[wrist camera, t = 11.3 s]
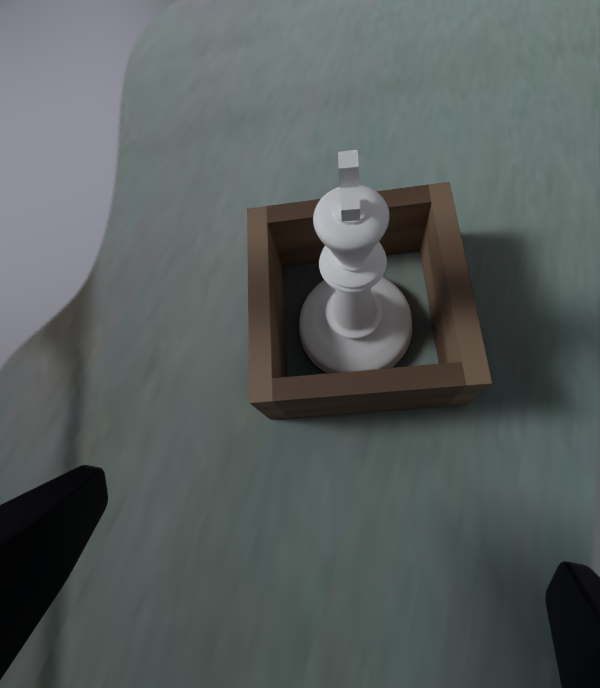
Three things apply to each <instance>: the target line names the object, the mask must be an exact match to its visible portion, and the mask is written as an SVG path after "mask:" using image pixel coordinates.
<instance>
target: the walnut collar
mask: <svg viewBox="0 0 600 688" xmlns="http://www.w3.org/2000/svg"><path fill="white" fill-rule="evenodd" d="M377 192H378V193H379V194H380V195H381V196H382V197H383V199H384V200H385V202H386V204H387V206H388V209H389V223H388V226H387V229H386V231H385V233H384V235H383V236H382V238H381V239H380V241H379V243H380V244H381V246H382V247H383V249H384V251H385V254H386V255H387V254H396V253H404V252H413V251H420V254H421V260H422V266H423V272H424V278H425V284H426V289H427V295H428V301H429V307H430V313H431V319H432V325H433V331H434V336H435V342H436V348H437V354H438V360H439V364H432V365H420V366H409V367H397V368H386V369H374V370H363V371H351V372H340V373H328V374H317V375H305V376H294V377H287V361H286V338H285V315H284V292H283V268H282V267H284V266H293V265H302V264H310V263H319V259H320V255H321V253H322V250H323V248H324V247H325V245H324V243H323V242H322V241H321V240H320V238H319V237H318V235H317V233H316V231H315V228H314V224H313V215H314V211H315V208H316V206H317V204H318V202H319V201H320V200H321V199H317V200H310V201H302V202H295V203H287V204H280V205H272V206H265V207H257V208H250V209H247V232H248V314H249V397H250V404H251V405H253V406H254V407H255V408H256V409H258V410H259V411H260V412H261V413H263V414H264V415H265V416H266V417H268V418H269V419H283V418H296V417H310V416H323V415H336V414H349V413H362V412H375V411H388V410H401V409H414V408H428V407H441V406H454V405H467V404H468V403H469V402H470V401H472V400H473V399H474V398H475V397H476V396H478V395H479V394H480V393H481V392H482V391H484V390H485V389H486V388H487V387H488V386H489V385H491V384H492V381H491V376H490V371H489V366H488V362H487V357H486V352H485V347H484V343H483V338H482V333H481V328H480V324H479V319H478V314H477V309H476V305H475V300H474V295H473V290H472V286H471V281H470V276H469V271H468V267H467V262H466V257H465V253H464V248H463V243H462V238H461V234H460V229H459V224H458V219H457V215H456V210H455V205H454V200H453V196H452V191H451V186H450V182H445V183H437V184H430V185H422V186H415V187H407V188H400V189H392V190H385V191H377Z"/></svg>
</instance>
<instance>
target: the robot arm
mask: <svg viewBox="0 0 600 688" xmlns="http://www.w3.org/2000/svg"><path fill="white" fill-rule="evenodd" d="M107 503H108V493H107V486H106V479H105V473H104V471H103V469H102V468H99V467H94V466H89V465H82V466H79V467H77V468H75V469H73V470H71V471H69V472H67V473H65V474H63V475H61V476H59V477H57V478H55V479H53V480H51V481H48V482H46V483H44V484H42V485H40V486H38V487H36V488H34V489H32V490H30V491H28V492H26V493H24V494H22V495H20V496H18V497H16V498H14V499H12V500H10V501H8V502H5V503H3V504H1V505H0V680H1V678H2V677H3V675H4V674H5V672H6V671H7V669H8V668H9V666H10V665H11V663H12V662H13V660H14V659H15V657H16V656H17V654H18V653H19V651H20V650H21V648H22V647H23V645H24V644H25V642H26V641H27V639H28V638H29V636H30V635H31V633H32V632H33V630H34V629H35V627H36V626H37V624H38V623H39V621H40V620H41V618H42V617H43V615H44V614H45V612H46V611H47V609H48V608H49V606H50V605H51V603H52V602H53V600H54V599H55V597H56V596H57V594H58V593H59V591H60V590H61V588H62V587H63V585H64V583H65V582H66V580H67V579H68V577H69V575H70V573H71V572H72V570H73V568H74V566H75V564H76V563H77V561H78V559H79V557H80V555H81V553H82V552H83V550H84V548H85V546H86V544H87V542H88V540H89V539H90V537H91V535H92V533H93V531H94V529H95V527H96V526H97V524H98V522H99V520H100V518H101V516H102V514H103V513H104V511H105V509H106V506H107ZM546 607H547V612H548V618H549V623H550V628H551V634H552V639H553V644H554V650H555V655H556V660H557V665H558V671H559V676H560V681H561V686H562V688H600V577H599V576H598V575H597V574H596V573H595V572H594V571H593V570H592V569H590V568H589V567H588V566H585V565H582V564H577V563H572V562H567V561H563V562H562V563H560V564H559V566H558V567H557V569H556V572H555V574H554V576H553V578H552V580H551V582H550V584H549V586H548V588H547V591H546Z"/></svg>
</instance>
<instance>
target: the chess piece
mask: <svg viewBox="0 0 600 688" xmlns="http://www.w3.org/2000/svg"><path fill="white" fill-rule="evenodd" d="M338 164H339V180H340V187H337V188H335V189H333V190H331V191H330V192H328V193H327V194H326V195H324V196H323V197H322V198H321V200H320V201H319V202H318V204H317V206H316V208H315V211H314V215H313V224H314V228H315V231H316V233H317V235H318V237H319V238H320V240H321V241H322V242H323V243H324V245H325V247H324V248H323V250H322V253H321V255H320V259H319V269H320V273H321V275H322V277H323V279H324V280H323V281H322V282H321V283H319V284H318V285H317V286H316V287H315V288H314V289H313V290H312V291H311V292H310V293H309V295H308V296H307V298H306V300H305V302H304V304H303V306H302V309H301V313H300V318H299V334H300V340H301V343H302V346H303V348H304V350H305V352H306V354H307V356H308V357H309V358H310V360H311V361H312V362H313V363H314V364H315V365H316V366H317V367H318V368H320V369H321V370H323V371H324V372H326V373H340V372H351V371H363V370H374V369H386V368H392V367H393V366H395V365H396V364H397V363H398V362H399V361H400V359H401V358H402V357H403V356H404V354H405V352H406V351H407V349H408V346H409V344H410V341H411V337H412V315H411V310H410V307H409V304H408V302H407V300H406V298H405V296H404V295H403V293H402V292H401V291H400V290H399V289H398V288H397V287H396V286H395V285H394V284H393V283H392V282H390V281H389V280H387V279H386V278H384V277H382V276H383V275H384V272H385V270H386V265H387V259H386V254H385V251H384V249H383V247H382V246H381V244H380V243H379V241H380V239H381V238H382V236H383V235H384V233H385V231H386V229H387V226H388V223H389V209H388V206H387V204H386V202H385V200H384V199H383V197H382V196H381V195H380V194H379V193H378V192H376V191H375V190H373V189H371V188H369V187H366V186H362V185H359V164H358V151H357V150H351V151H341V152H339V153H338Z"/></svg>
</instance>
